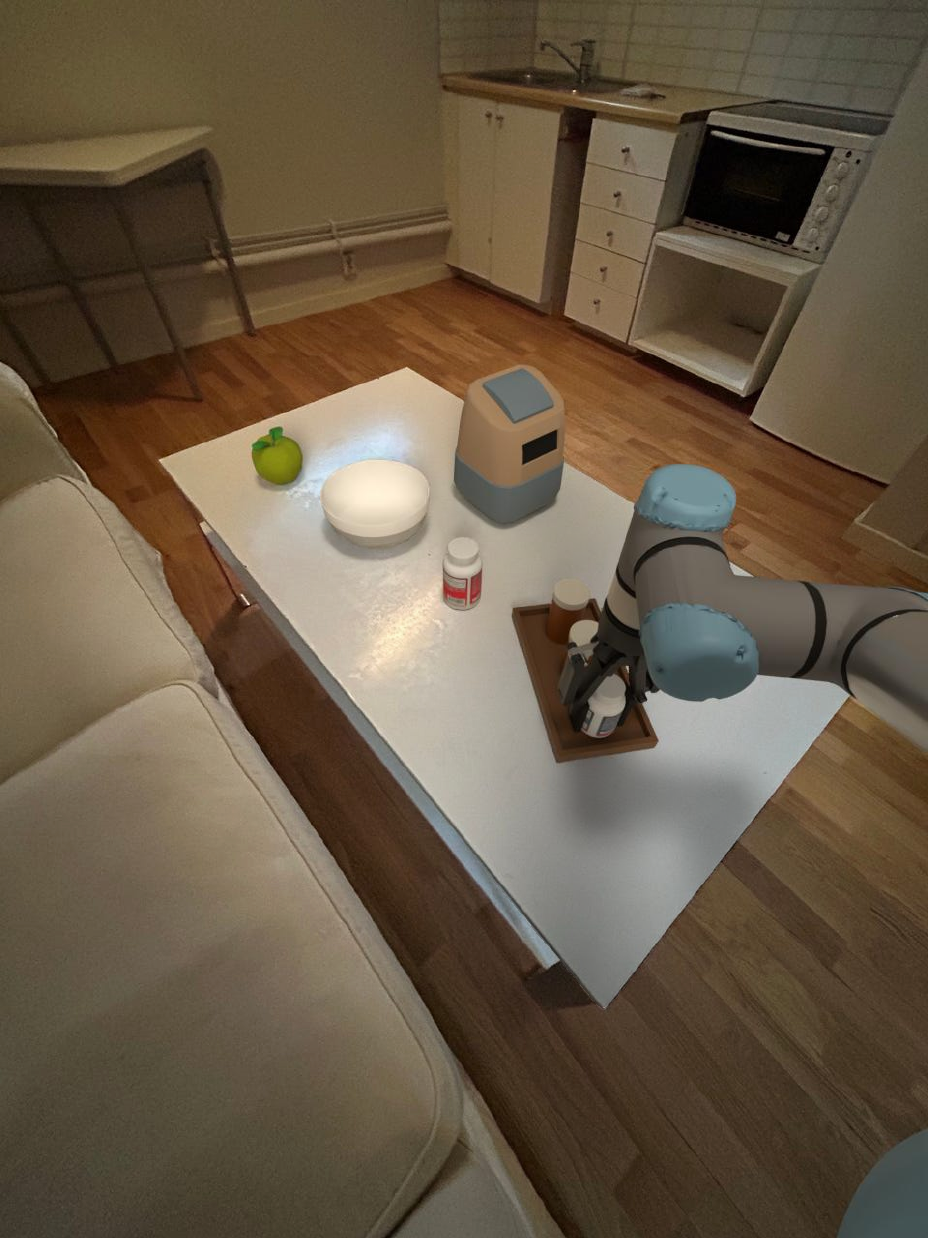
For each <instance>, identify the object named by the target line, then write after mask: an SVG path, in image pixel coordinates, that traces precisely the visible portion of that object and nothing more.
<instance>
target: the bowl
mask: <svg viewBox="0 0 928 1238" xmlns="http://www.w3.org/2000/svg"><path fill="white" fill-rule="evenodd" d="M319 501H320V504H321V508H322V510H323V513H324V516H325V518H326V519H327V521H328V523H329V525H330V526H331V528H332V529H333V531H334V532H335V533H336V534H338V536H340V537H341V538H342V539H344V540H346V541H347V542H349V543H351V544H353V545H355V546H358V547H360V548H365V549H371V550H385V549H390V548H393V547H395V546H397V545H398V546H399V545H400V544H402V543H404V542H406V541H408V540H409V539H411V537H413V536H414V535H415V534H416V533H417V532H418V530H419V529H420V528H421V527H422V526H423V525H424V522H425V520H426V518H427V514H428V511H429V508H430V503H431V502H430V501H431V486H430V483H429V481H428V479H427V478H426V476H425V475H424V474H423V473H422V472H421V471H420V470H419V469H417V468H416V467H414V466H412V465H410V464H408V463H405V462H401V461H399V460H391V459H380V458H379V459H365V460H361V461H356V462H352V463H350V464H347V465H345V466H342V467H339V469H337V470H336V471H334V472H333V473H331V474H330V475H329V476H328V477H327V478H326V479H325V480H324V482H323V483H322V485H321V488H320V491H319Z"/></svg>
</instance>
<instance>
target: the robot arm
mask: <svg viewBox="0 0 928 1238" xmlns="http://www.w3.org/2000/svg"><path fill="white" fill-rule="evenodd" d="M736 504H737V493H736V490H735V489H734V487H733V485H732V484H731V482H730V481H728V480H727V479H726V478H725V477H724V476H722V475H721V474H719V473H718V472H716V471H714V470H712V469H709V468H707V467H704V466H701V465H696V464H685V463H674V464H673V463H672V464H668V465H664V466H660V467H659V468H657V469H655V470H654V471H652V472H651V473H650V475H649V476H648V477H647V478H646V480H645V482H644V484H643V487H642V489H641V492H640V494H639V496H638V498H637V500H636V502H635V503H634V505H633V513H632V517H631V519H630V523H629V526H628V529H627V532H626V536H625V538H624V543H623V545H622V548H621V552H620V553H619V554H620V555H619V557H618V562H617V563H616V568H615V570H614V574H613V577H612V579H611V583H610V586H609V589H608V591H607V595H606V597H605V599H604V602H603V606H602V609H601V615H600V618H599V623H598V631H597V633H596V634H595V635H594V636H593V637H592V638H591V640H590V643H588V644H585V645H582V646H579V647H577V644H576V643H575V642H570V643H568V644H567V645H566V649H567V653H568V656H567V659H566V663H565V666H564V669H563V672H562V675H561V678H560V681H559V684H558V687H557V689H558V692H559V695H560V698H561V701H562V704H563V706H567V708H568V711H569V717H570V720H571V723H572V726H573V729H574V732H575V733H577V732H580V731H581V728H582V726H583V723H584V721H585V718H586V715H587V713H588V710H589V707H590V706H589V703H588V700H589V698H590V697H591V696H592V695H593V693H594V692H595V691H596V690H597V688H598V687H599V686H600V685H601V683H602V682H603V681H604V680H605V678H606V677H611V676H612V675H613V674H614V673H615V672H616V670H617V669H618V668H619V667H622V666H626V667H628V673H629V683H630V685H629V684H628V682H626V683H625V687H626V690H625V693H624V695H625V698H626V703H625V707H624V709H623V711H622V714H621V716H620V718H619V720H618V722H617V726H623V724H624V722H625V720H626V718H627V716H628V714H629V712H630V710H631V708H633V707H635V706H636V705H637V703H642V704H644V703H646V702H647V701H648V697H647V694H646V693H648V692H650V693H651V694H657V693H658V692H660V691H661V692H663V694H665V695H668V696H670V697H672V698H674V699H677V700H681V701H685V702H693V703H694V702H695V703H696V702H697V703H702V702H705V701H707V700H708V699H709V700H710V699H716V700H724V699H728V698H731V697H733V696H735V695H737V694H739V693H741V692H743V691H744V690H746V689H747V688H748V687H749V686H750V685H751V684H753V682H754V681H755V680H756V679H757V676H765V677H772V678H773V677H774V678H785V679H786V678H787V679H794V680H795V679H797V680H805V681H817V682H824V683H830V684H833V685H836V686H838V687H839V688H841V689H842V690H843V691H844V692H845V693H847V694H848V695H849V696H850V697H852V698H854V699H855V700H857V702H858V703H860V704H861V705H863V706H864V707H865V708H866V709H868V710H869V711H870V712H871V713H873V714H874V715H875V716H877V717H878V718H879V719H880V720H881V721H883V722H884V723H885V724H886V725H888V726H889V727H890V728H891V729H892V730H893V731H895V732H896V733H898V734H899V735H900V736H901V737H902V738H904V739H905V740H906V741H908V742H909V743H910V744H911V745H912V746H914V747H915V748H916V749H917V750H919V751H920V752H922V753H923V754H924V756H926V757H928V593H927V592H921V591H916V590H911V589H908V588H904V587H899V586H886V587H884V586H883V587H881V586H879V587H876V586H863V585H851V584H838V583H827V582H826V583H825V582H815V581H814V582H813V581H805V580H793V579H781V578H772V577H761V576H752V575H751V576H750V575H739V574H734V571H733V570H732V567H731V563H730V560H729V556H728V553H727V551H726V548H725V544H724V541H723V537H724V531H725V530H726V528H727V527H729V526H730V525H731V521H732V519H731V517H732V515H733V512H734V509H735V507H736ZM591 655H592V660H591V661H590V662H589V664H588V662H587V660H588V659H589V657H590V656H591ZM584 666H586V668H585V669H584ZM836 1238H928V1128H925V1129H923V1130H921V1131H919V1132H916V1133H914V1134H912V1135H911V1136H909V1137H908V1138H905V1139H904V1140H902V1141H901V1142H898V1143H897V1144H896V1145H895V1146H894V1147H892V1148H891V1149H890V1150H889V1151H887V1152H886V1153H885V1154H883V1156H882V1157H881V1158H880V1159H879V1160H878V1161H877V1162H876V1163H875V1164H874V1165H873V1166H872V1168H870V1171H869V1172H868V1173H867V1174H866V1175H865V1177H864V1179H863V1180H861V1182H860V1184H859V1186H858V1187H857V1189H856V1191H855V1193H854V1195H853V1196H852V1198H851V1200H850V1201H849V1204H848V1207H847V1208H846V1211H845V1213H844V1216H843V1217H842V1220H841V1224H840V1226H839V1229H838V1232H837V1236H836Z"/></svg>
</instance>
